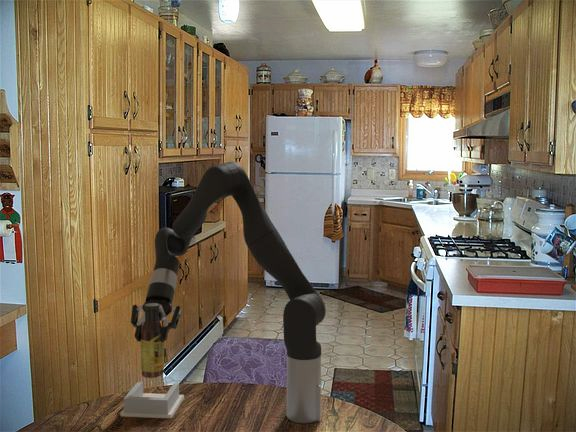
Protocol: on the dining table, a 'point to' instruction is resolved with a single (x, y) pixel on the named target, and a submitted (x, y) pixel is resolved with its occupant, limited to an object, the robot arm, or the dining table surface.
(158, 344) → the sauce bottle
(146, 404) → the white open tray
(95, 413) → the dining table surface
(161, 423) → the dining table surface
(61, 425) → the dining table surface
